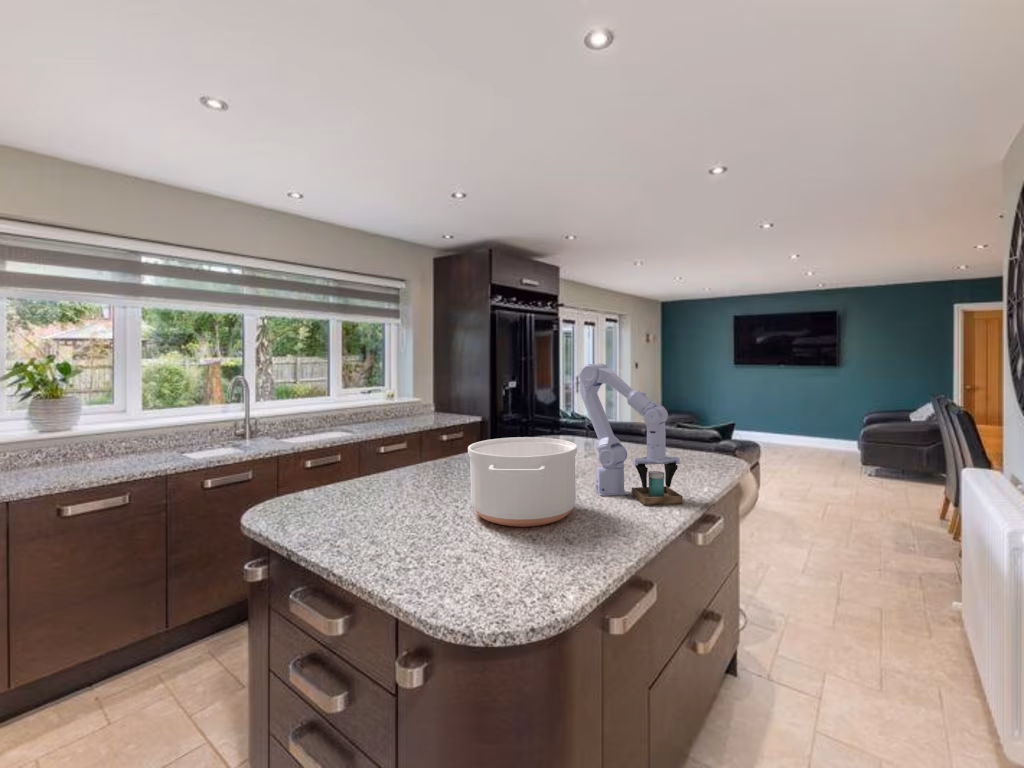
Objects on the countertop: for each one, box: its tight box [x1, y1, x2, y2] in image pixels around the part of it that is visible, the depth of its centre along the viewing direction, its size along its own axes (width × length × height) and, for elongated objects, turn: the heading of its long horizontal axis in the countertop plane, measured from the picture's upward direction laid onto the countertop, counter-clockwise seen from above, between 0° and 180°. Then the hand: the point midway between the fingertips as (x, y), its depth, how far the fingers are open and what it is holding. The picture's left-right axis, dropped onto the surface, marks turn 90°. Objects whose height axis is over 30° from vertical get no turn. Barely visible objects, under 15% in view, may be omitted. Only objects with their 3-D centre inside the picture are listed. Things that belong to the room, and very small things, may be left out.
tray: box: [631, 485, 684, 507], centre depth 155 cm, size 12×12×2 cm
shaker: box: [647, 470, 665, 497], centre depth 155 cm, size 5×5×8 cm
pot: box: [467, 436, 578, 528], centre depth 143 cm, size 42×32×20 cm
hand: (656, 486), depth 155 cm, fingers open, 7 cm apart
